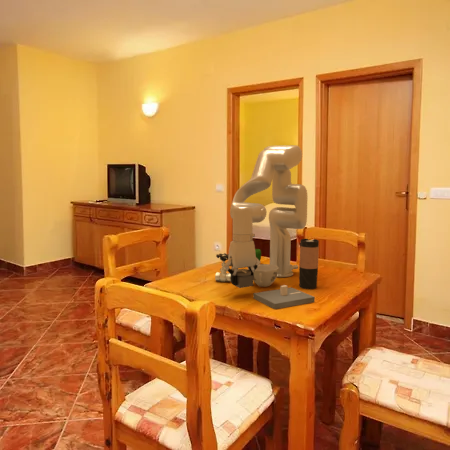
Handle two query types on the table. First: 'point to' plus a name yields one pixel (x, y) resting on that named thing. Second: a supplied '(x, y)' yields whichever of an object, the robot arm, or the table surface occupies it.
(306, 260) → the travel mug
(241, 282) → the knob
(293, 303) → the hub plate
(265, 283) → the teacup
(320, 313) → the table surface
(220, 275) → the valve
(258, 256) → the bell pepper
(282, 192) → the robot arm
